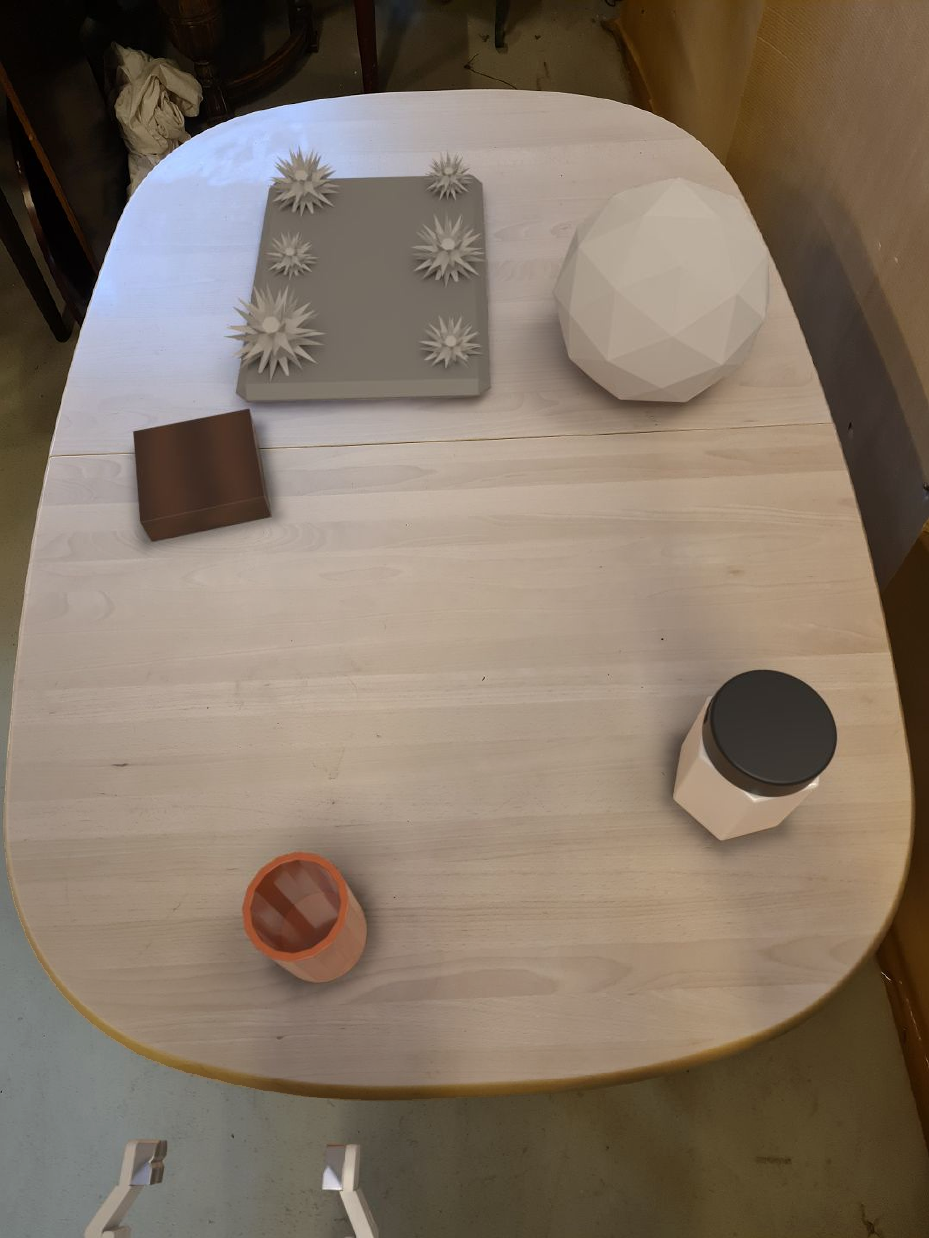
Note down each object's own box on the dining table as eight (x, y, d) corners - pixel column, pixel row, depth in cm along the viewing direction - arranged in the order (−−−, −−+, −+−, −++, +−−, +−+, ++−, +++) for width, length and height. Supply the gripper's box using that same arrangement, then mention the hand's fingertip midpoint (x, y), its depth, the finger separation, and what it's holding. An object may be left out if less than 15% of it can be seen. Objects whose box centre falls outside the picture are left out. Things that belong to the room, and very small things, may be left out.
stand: (151, 542, 78) (140, 522, 75) (143, 452, 83) (132, 431, 81) (271, 516, 79) (264, 496, 76) (256, 429, 84) (249, 408, 82)
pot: (283, 993, 59) (249, 973, 50) (271, 900, 62) (236, 866, 53) (375, 968, 59) (356, 944, 51) (358, 878, 63) (338, 841, 54)
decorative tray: (490, 409, 85) (491, 330, 76) (232, 416, 85) (203, 338, 77) (482, 192, 102) (482, 107, 94) (267, 197, 103) (247, 114, 94)
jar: (760, 723, 68) (810, 653, 58) (804, 821, 64) (867, 765, 54) (653, 749, 67) (684, 684, 57) (692, 850, 63) (733, 800, 53)
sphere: (658, 388, 95) (792, 229, 84) (679, 479, 80) (847, 299, 69) (517, 293, 90) (640, 108, 79) (511, 370, 74) (663, 155, 63)
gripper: (453, 1596, 31) (460, 1148, 38) (-100, 1575, 32) (6, 1138, 39) (458, 1523, 36) (464, 1144, 43) (-13, 1507, 37) (66, 1135, 44)
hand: (245, 1141), depth 41 cm, fingers open, 8 cm apart
